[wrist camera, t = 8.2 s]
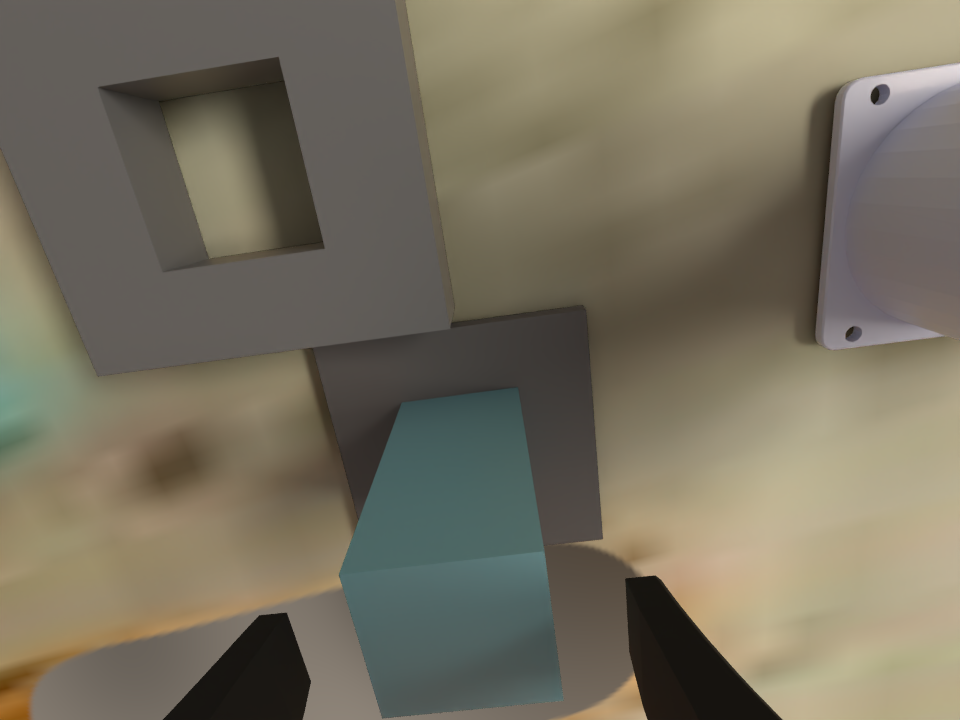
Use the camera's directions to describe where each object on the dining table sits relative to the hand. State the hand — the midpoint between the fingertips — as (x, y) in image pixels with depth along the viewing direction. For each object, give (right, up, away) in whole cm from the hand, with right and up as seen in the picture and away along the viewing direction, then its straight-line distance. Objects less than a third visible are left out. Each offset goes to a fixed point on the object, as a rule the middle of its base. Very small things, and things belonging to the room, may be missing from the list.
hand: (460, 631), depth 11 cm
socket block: (-6, +11, +5) cm, 14 cm away
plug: (0, +3, +7) cm, 8 cm away
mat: (0, +3, +8) cm, 8 cm away
